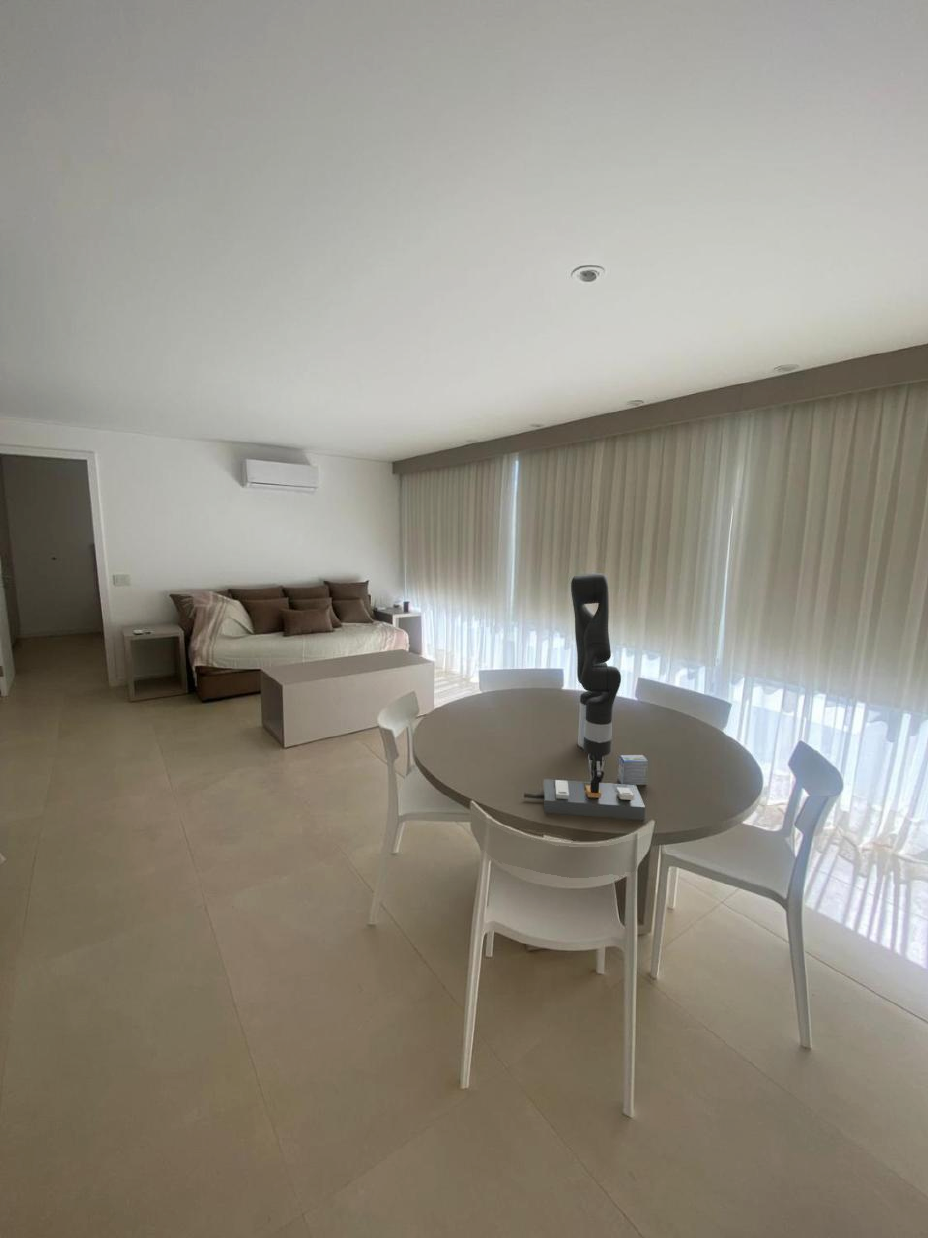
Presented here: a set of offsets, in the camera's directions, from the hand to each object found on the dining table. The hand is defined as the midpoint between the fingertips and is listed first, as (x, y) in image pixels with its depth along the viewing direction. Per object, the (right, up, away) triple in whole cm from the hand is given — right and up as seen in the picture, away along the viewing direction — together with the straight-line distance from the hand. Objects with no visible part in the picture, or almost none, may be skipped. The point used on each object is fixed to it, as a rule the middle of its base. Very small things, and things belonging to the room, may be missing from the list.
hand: (594, 791), depth 137 cm
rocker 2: (0, -1, +3) cm, 3 cm away
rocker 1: (-8, -1, +4) cm, 9 cm away
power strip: (-2, -6, +7) cm, 9 cm away
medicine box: (+18, -4, +19) cm, 26 cm away
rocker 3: (+9, -1, +2) cm, 10 cm away
